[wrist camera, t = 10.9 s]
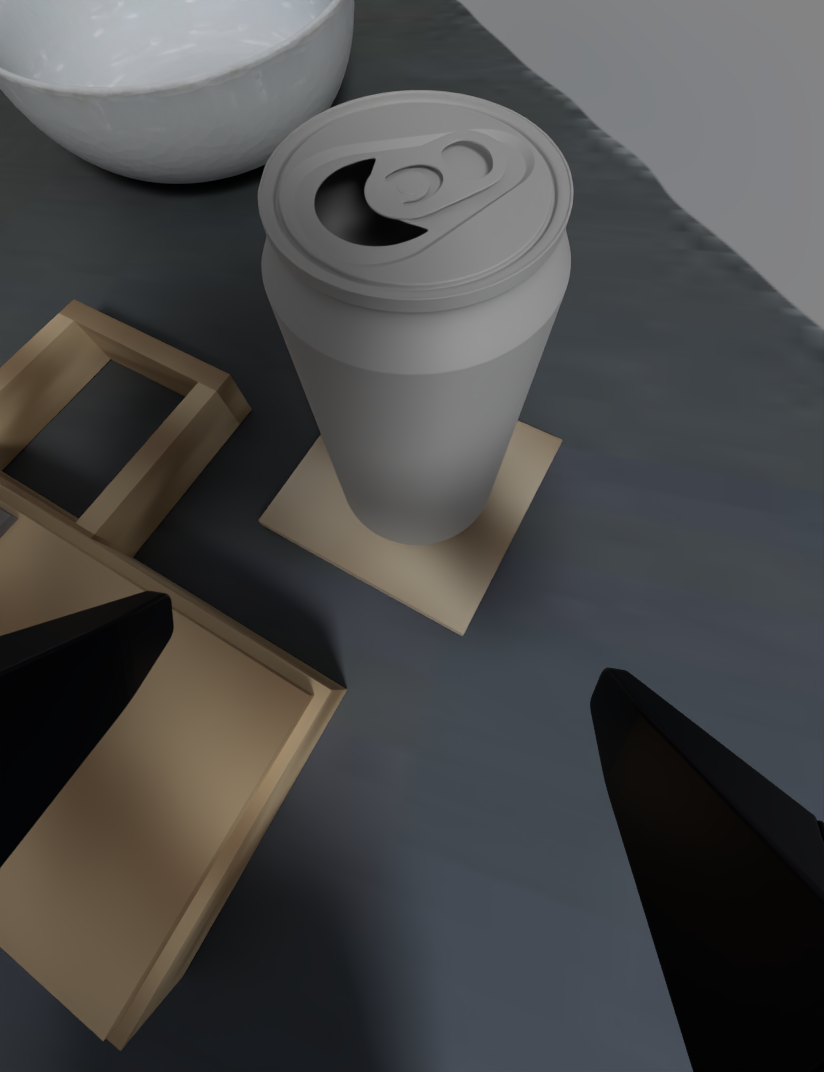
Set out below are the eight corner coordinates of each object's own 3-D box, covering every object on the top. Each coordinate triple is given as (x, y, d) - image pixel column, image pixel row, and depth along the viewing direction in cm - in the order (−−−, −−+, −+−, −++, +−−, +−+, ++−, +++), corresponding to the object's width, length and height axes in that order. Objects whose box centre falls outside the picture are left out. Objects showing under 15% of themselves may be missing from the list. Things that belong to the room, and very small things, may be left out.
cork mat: (462, 636, 17) (463, 634, 16) (263, 525, 19) (258, 520, 18) (558, 447, 20) (562, 440, 19) (377, 366, 22) (375, 358, 21)
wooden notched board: (183, 975, 14) (94, 1082, 10) (-203, 652, 18) (-368, 643, 14) (451, 508, 19) (457, 465, 15) (109, 339, 23) (49, 272, 19)
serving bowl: (375, 46, 32) (363, -116, 26) (358, 239, 25) (336, 83, 19) (109, 53, 33) (31, -103, 26) (19, 243, 26) (-117, 94, 19)
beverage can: (324, 455, 19) (187, 129, 8) (448, 401, 20) (483, 38, 9) (382, 576, 17) (311, 372, 6) (517, 511, 18) (676, 226, 7)
